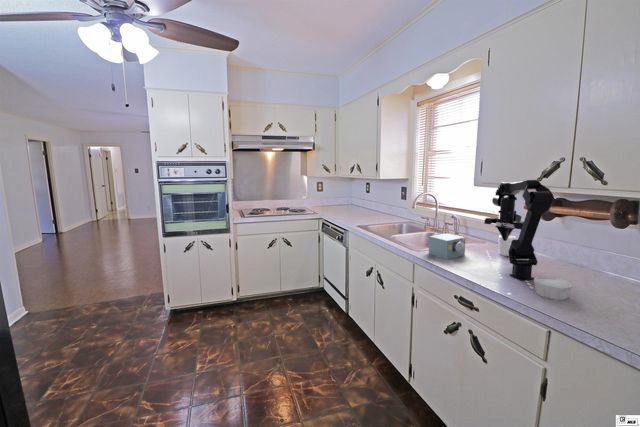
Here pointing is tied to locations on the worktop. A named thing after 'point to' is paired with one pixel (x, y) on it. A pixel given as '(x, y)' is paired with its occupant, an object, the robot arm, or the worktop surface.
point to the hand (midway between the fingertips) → (505, 240)
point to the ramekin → (552, 288)
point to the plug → (459, 247)
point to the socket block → (445, 245)
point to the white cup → (504, 245)
